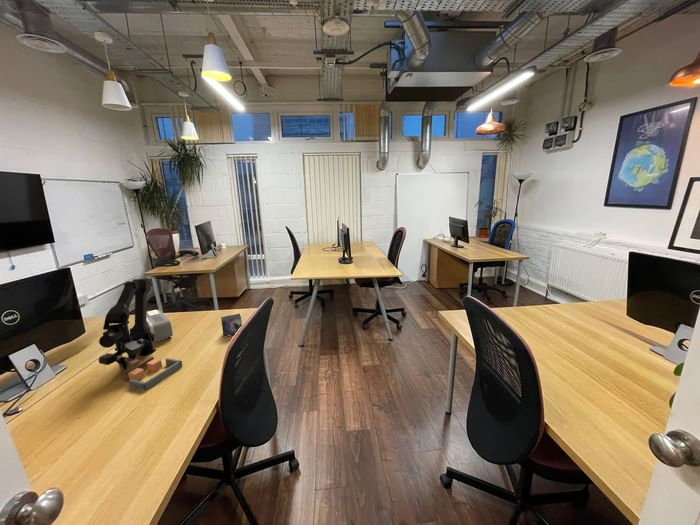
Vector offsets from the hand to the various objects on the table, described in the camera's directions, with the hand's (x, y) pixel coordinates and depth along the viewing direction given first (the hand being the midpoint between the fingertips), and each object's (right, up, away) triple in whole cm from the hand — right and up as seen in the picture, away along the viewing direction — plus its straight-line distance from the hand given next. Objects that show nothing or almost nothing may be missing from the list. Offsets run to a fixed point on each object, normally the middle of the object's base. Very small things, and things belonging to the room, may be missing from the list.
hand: (128, 367), depth 133 cm
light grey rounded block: (-11, +6, +37) cm, 39 cm away
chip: (+9, -3, -7) cm, 12 cm away
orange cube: (+12, -1, +1) cm, 12 cm away
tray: (+17, -2, -5) cm, 18 cm away
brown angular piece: (+1, -1, 0) cm, 1 cm away
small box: (+35, +7, +35) cm, 49 cm away
